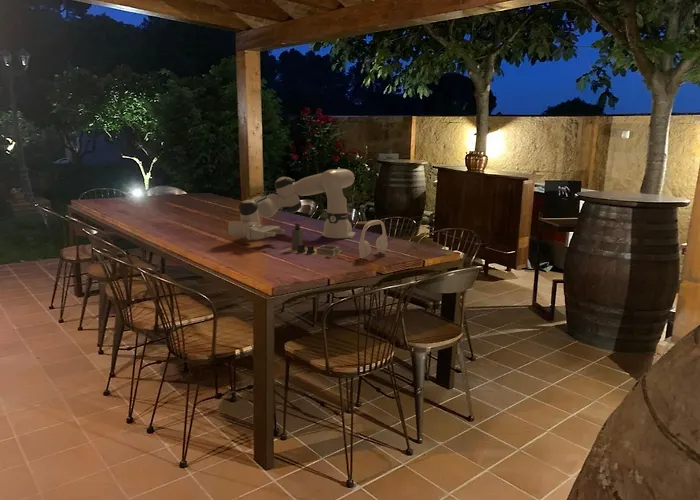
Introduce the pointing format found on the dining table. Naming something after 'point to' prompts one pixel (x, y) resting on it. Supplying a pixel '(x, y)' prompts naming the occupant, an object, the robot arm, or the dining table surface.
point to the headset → (380, 242)
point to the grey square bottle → (297, 237)
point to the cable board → (316, 250)
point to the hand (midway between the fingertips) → (279, 233)
